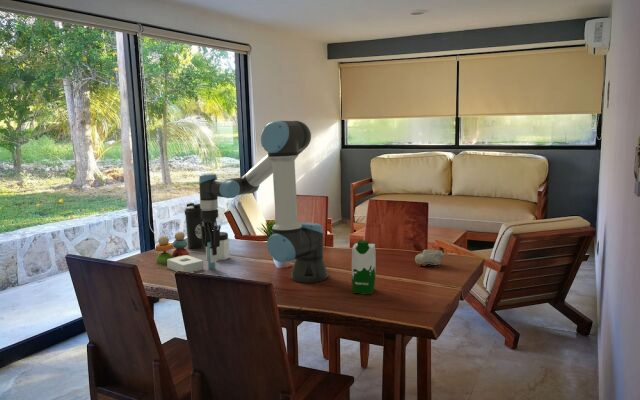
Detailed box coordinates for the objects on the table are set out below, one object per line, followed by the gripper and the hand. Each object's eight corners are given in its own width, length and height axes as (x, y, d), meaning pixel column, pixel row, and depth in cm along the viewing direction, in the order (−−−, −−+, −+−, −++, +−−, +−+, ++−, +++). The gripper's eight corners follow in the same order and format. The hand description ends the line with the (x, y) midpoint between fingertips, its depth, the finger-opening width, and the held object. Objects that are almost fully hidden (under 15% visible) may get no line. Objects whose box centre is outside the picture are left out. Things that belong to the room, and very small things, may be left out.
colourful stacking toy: (187, 265, 237) (186, 238, 235) (152, 263, 240) (151, 237, 239) (203, 255, 255) (202, 230, 253) (170, 253, 258) (169, 229, 256)
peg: (216, 268, 230) (215, 242, 228) (210, 270, 228) (209, 243, 226) (212, 267, 232) (211, 241, 230) (207, 268, 230) (205, 242, 228)
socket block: (203, 269, 229) (203, 260, 229) (183, 274, 222) (183, 265, 222) (187, 263, 239) (186, 255, 239) (167, 267, 232) (166, 259, 232)
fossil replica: (411, 264, 234) (422, 272, 225) (411, 247, 232) (422, 254, 223) (435, 259, 238) (447, 267, 229) (435, 242, 236) (447, 249, 227)
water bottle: (196, 250, 264) (193, 205, 260) (182, 247, 269) (179, 204, 266) (210, 246, 272) (208, 203, 269) (196, 243, 278) (194, 201, 274)
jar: (232, 258, 247) (231, 233, 246) (217, 261, 242) (216, 236, 240) (223, 254, 254) (222, 230, 252) (208, 257, 249) (207, 233, 247)
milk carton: (350, 294, 194) (350, 242, 191) (354, 287, 203) (354, 237, 200) (373, 296, 192) (373, 243, 189) (376, 288, 201) (376, 238, 198)
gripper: (226, 210, 223) (228, 262, 227) (206, 206, 234) (209, 256, 238) (212, 212, 218) (214, 266, 221) (192, 208, 229) (194, 259, 233)
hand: (211, 261), depth 230 cm, fingers closed on peg, 3 cm apart
